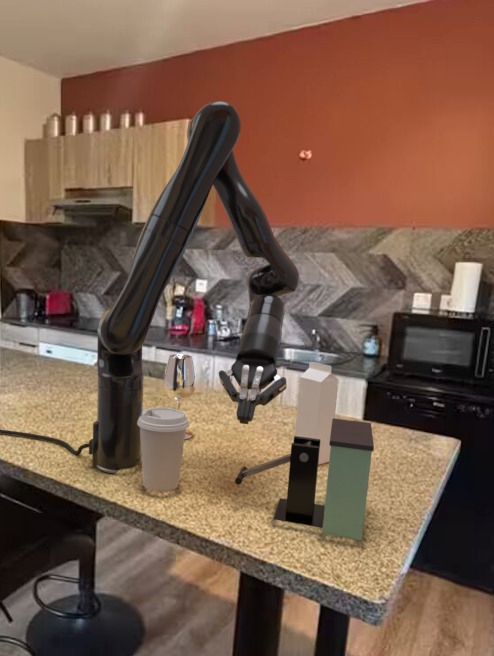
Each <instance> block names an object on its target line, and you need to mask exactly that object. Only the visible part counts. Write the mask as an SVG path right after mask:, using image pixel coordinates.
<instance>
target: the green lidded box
mask: <svg viewBox="0 0 494 656" xmlns="http://www.w3.org/2000/svg"><path fill="white" fill-rule="evenodd" d="M329 445H330V446H331V448H330V458H329V462H328V470H327V479H326V480H327V481H326V491H325V500H324V506H325V510H324V520H323V528H322V530H321V535H327V536H332V537H339V538H344V539H350V540H354V541H363V536H364V535H363V534H364V528H365V527H364V526H365V516H366V507H367V498H368V490H369V482H370V481H369V480H370V472H371V462H372V453H373V452H374V450H375V449H374V448H375V444H374V437H373V429H372V423H371V422H366V421H358V420H351V419H341V418H335V419H334V418H333V419H332V427H331V435H330V444H329Z"/></svg>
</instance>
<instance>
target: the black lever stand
mask: <svg viewBox="0 0 494 656" xmlns="http://www.w3.org/2000/svg"><path fill="white" fill-rule="evenodd" d="M309 441H311V443H312V445H313V446H312V445H305V444H304V443H306V442H309ZM319 451H320V439H314V438H307V437H299V436H295V435H294V436H293V441H292V443H291V445H290V454H291V456H290V462H289V469H288V482H287V493H286V498H281V497H280V498H279V499H278V503H277V506H276V509H275V513H274V515H273V521H280V522H286V523H292V524H298V525H303V526H308V527H309V526H310V527H314V528H320V529H323V520H324V510H325V504H324V505H323V504H318V503H316V493H317V492H316V491H317V482H318V471H319V465H318V462H319Z"/></svg>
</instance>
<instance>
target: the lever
mask: <svg viewBox="0 0 494 656" xmlns="http://www.w3.org/2000/svg"><path fill="white" fill-rule="evenodd" d="M304 444H305V445H312V443H311V441H309V442H306V443H304ZM312 446H313V445H312ZM290 456H291V453H288V454H286V455H282V456H280V457H277V458H274V459H272V460H269V461H266V462H264V463H261V464H258V465H256V466H252V467H250V468H248V467H247V466H244V465H243V466H242V467H241V468H240V470H239V471H238V474H237V475H236V477H235V479H234V483H235V484H236V485H237V486H238V485H239V486H240V485H242V483H243V482H244V480H245V479H246V478H248V477H251V476H255V475H257V474H259V473H263V472H266V471H268V470H271V469H273V468H274V469H275V468H276V467H279V466H283V465H285V464H287V463H290Z"/></svg>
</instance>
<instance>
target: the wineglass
mask: <svg viewBox="0 0 494 656" xmlns="http://www.w3.org/2000/svg"><path fill="white" fill-rule="evenodd" d="M195 373H196V372H195V366H194V361H193V356H192V355H191V354H190V355H189V354H184V353H183V354H182V353H175V354H170V355H168V360H167V363H166V366H165V371H164V376H163V382H162V384H163V385H162V386H163V391H164V393H165V395H166V396H167V397H168V398H169V399H170V400H171V401H173V402H175V406H176V409H178V410H181V404H182V403H183V402H185V401H187V400H189V399H190V398H191V397H192V396H193V394H194V393H195V390H196V374H195ZM192 437H193V434H192V433H191V432H190V431H188V430H186V433H185V439H184V440H188V439H190V438H191V439H192Z"/></svg>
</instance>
